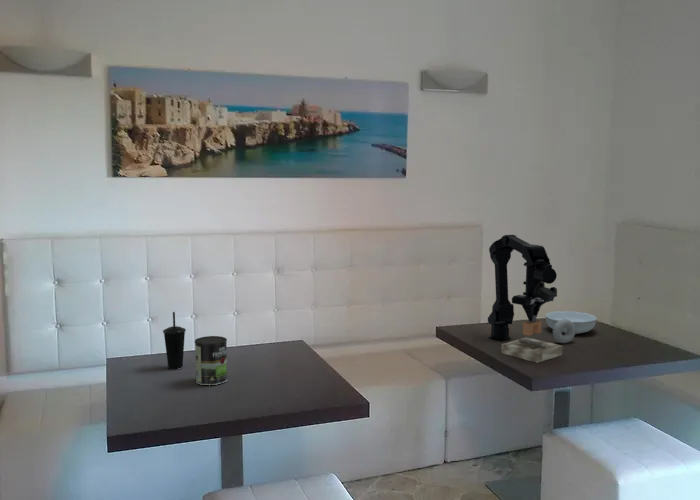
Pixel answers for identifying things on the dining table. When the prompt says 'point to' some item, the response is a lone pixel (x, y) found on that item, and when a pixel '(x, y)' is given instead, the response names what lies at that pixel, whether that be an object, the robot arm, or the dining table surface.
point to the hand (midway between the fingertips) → (532, 320)
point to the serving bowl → (580, 320)
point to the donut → (558, 330)
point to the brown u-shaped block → (532, 326)
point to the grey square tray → (532, 349)
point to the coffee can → (211, 360)
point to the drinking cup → (174, 345)
